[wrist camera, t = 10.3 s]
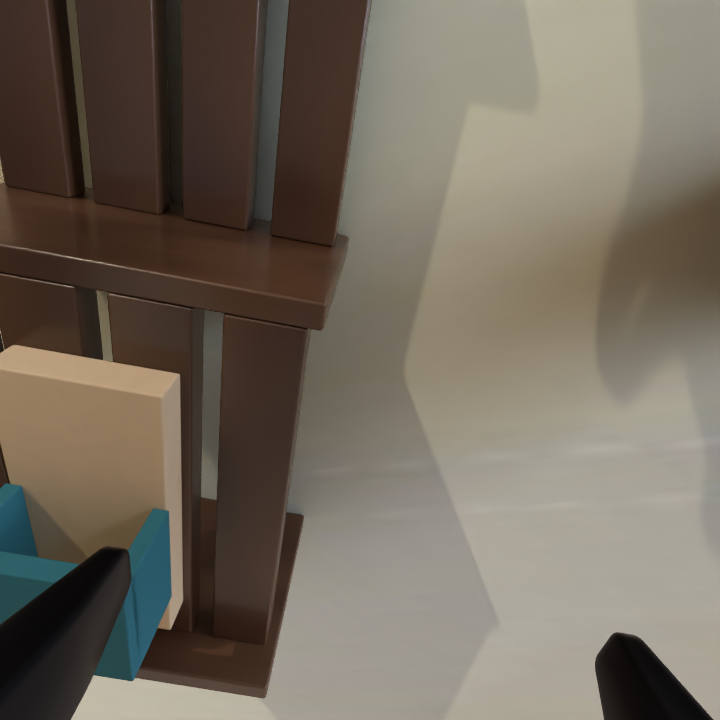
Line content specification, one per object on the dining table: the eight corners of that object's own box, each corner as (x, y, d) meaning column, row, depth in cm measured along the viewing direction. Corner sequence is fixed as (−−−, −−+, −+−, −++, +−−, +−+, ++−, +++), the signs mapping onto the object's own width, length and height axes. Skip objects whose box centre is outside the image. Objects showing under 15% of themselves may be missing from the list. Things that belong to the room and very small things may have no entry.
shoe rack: (452, -405, 11) (581, -1507, 3) (303, 525, 25) (265, 700, 18) (-74, -524, 11) (-1192, -2030, 3) (79, 487, 25) (-55, 648, 18)
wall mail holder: (184, 373, 13) (110, 469, 10) (186, 600, 18) (137, 718, 14) (9, 342, 13) (-129, 428, 10) (58, 579, 18) (-22, 692, 14)
